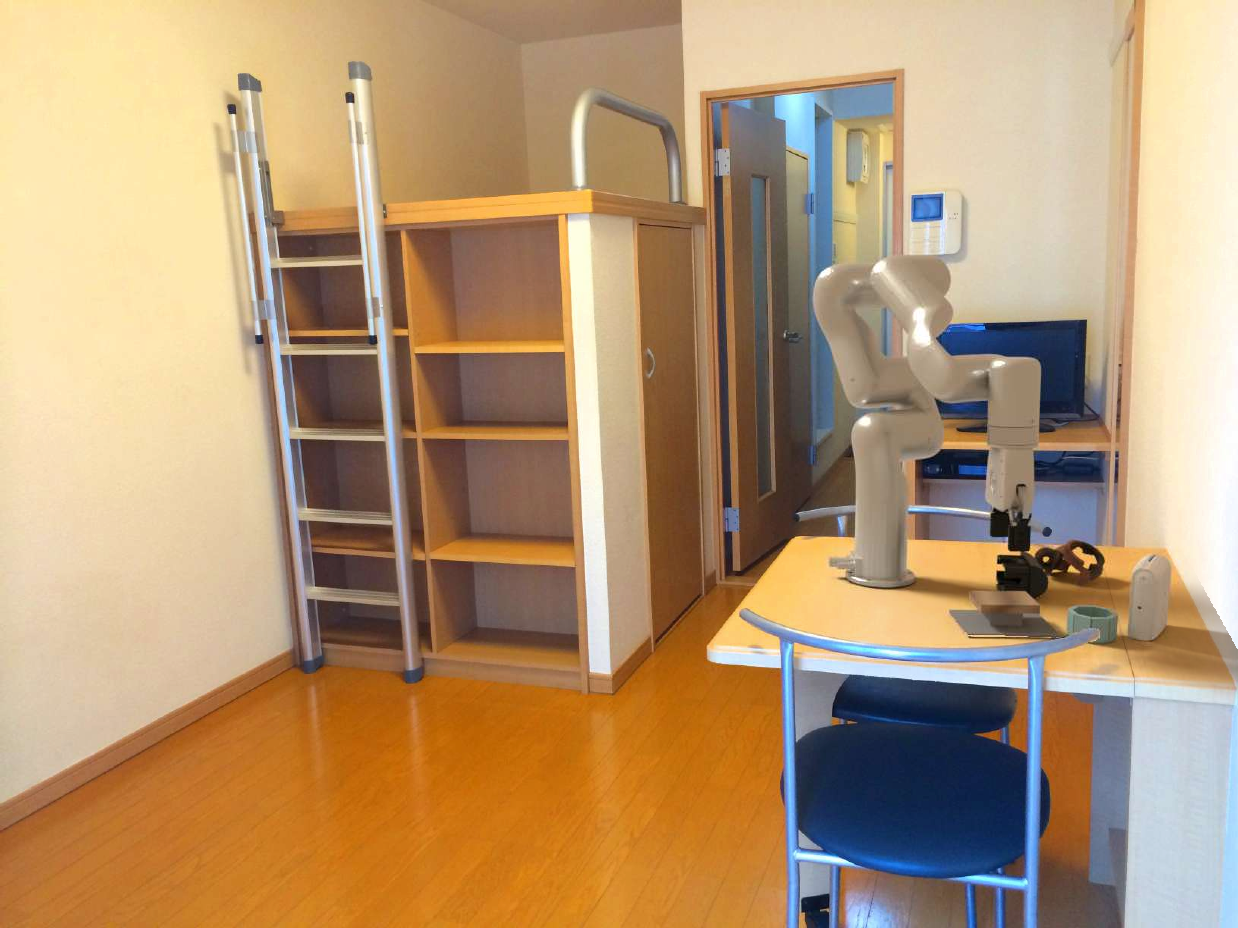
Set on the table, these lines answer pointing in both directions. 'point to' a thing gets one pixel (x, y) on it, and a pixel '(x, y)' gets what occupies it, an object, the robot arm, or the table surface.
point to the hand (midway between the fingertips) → (1009, 543)
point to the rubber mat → (984, 629)
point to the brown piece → (1071, 560)
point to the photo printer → (1149, 597)
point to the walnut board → (1004, 602)
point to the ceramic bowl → (1093, 621)
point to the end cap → (1021, 575)
